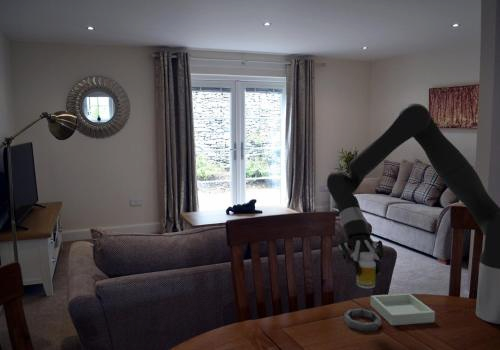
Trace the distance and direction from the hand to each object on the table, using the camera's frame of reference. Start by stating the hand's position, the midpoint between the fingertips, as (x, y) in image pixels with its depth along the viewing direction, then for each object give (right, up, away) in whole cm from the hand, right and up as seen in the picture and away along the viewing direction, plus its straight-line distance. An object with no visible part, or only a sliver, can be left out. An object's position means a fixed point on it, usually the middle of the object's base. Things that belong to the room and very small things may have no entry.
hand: (369, 273), depth 118 cm
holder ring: (-1, -15, +3) cm, 16 cm away
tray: (+13, -15, +9) cm, 22 cm away
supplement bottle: (0, -4, +2) cm, 5 cm away
